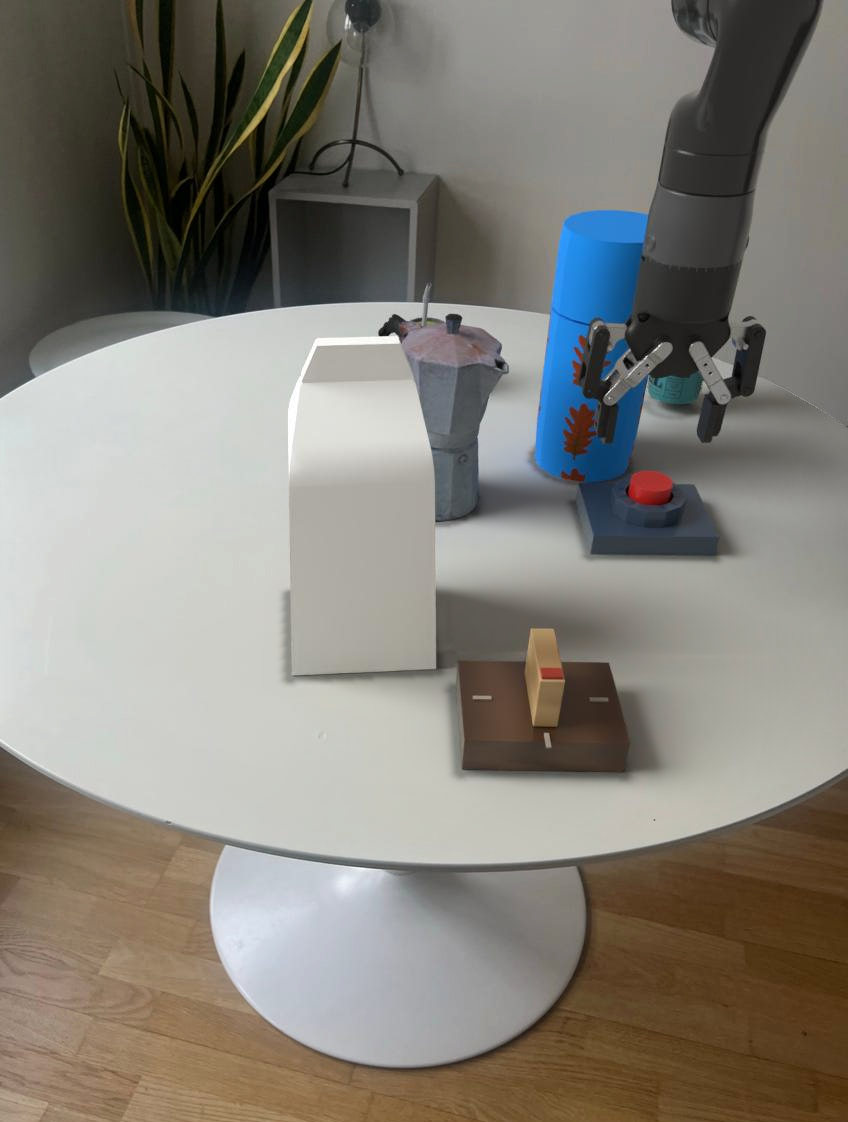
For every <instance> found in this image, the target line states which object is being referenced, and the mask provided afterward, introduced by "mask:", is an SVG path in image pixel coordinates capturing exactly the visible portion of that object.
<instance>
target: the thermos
mask: <svg viewBox="0 0 848 1122" xmlns="http://www.w3.org/2000/svg"><path fill="white" fill-rule="evenodd" d="M648 214H649V213H648ZM648 214H647V213H644V212H643V213H642V212H639V211H638V212H637V211H629V210H619V209H601V210H600V209H595V210H588V211H581V212H577V213H574V214H571V215H569V216H568V217H567V218H565V219H564V220H563V225H562V228H561V232H560V236H559V241H558V250H557V255H556V257H557V258H556V265H555V273H554V281H553V282H554V283H553V289H552V297H551V306H550V313H549V322H548V329H547V337H546V346H545V354H544V361H543V370H542V378H541V385H540V393H539V400H538V401H539V402H538V410H537V417H536V430H535V444H534V445H535V446H534V460H535V462H536V463H537V465H538V466H539V467H540V469H542V470H543V471H545V472H547V473H549V474H550V475H552V476H555V477H558V478H561V479H563V480H568V481H572V482H578V483H602V482H605V481H609V480H614V479H616V478H618V477H619V476H622V475H624V474H625V473H626V471H627V469H628V468H629V466H630V463H631V459H632V455H633V450H634V447H635V443H636V439H637V436H638V430H639V425H640V421H641V415H642V412H643V411H642V410H643V406H644V401H645V396H646V391H647V386H648V382H649V379H648V376H649V375H647V376H646V377H645V378H644V379H643V380H642V381H641V382H640V383H639V384H638V385H637V386H636V387H634V388H630V389H629V390H628V391H627V392H626V393H625V394H624V395H623V396H622V397H621V398H620V399H619V400H618V401H617V403H618V405H619V410H618V416H617V421H616V427H615V433H614V439H613V443H612V444H603V442H602V440H601V438H598V435H597V433H596V431H595V427H594V422H595V415H596V409H597V403H598V400H597V399H594V398H592V399H587V398H585V397H584V395H583V393H582V389H581V387H580V386H579V384H578V377H579V372H580V367H581V362H582V358H583V353H584V348H585V343H586V338H587V334H588V329H589V324H590V322H591V320H593V319H594V318H601V319H602V320H603V321H604V322H605V323H619V324H625V322H626V321H627V320H628V318H629V316H630V314H631V312H632V307H633V300H634V294H635V289H636V283H637V277H638V271H639V265H640V259H641V254H642V248H643V242H644V236H645V230H646V225H647V219H648ZM628 349H629V347H628V345H627V343H626V341H625V340H624V339H621V340H619V341H618V342H617V343H616V345H615V347H614V349H613V350H611V351H609V352H607V353H606V357H605V362H604V366H603V371H602V375H601V380H603V379H604V378H605V377H606V376H607V375H608V374H609V373H610V372H611V370H612V369H613V368H614V367H615V363H616V362H617V360H618V359H619V358H620V357H621V356H622V355H623V354H624V353H625V352H626V351H627V350H628Z"/></svg>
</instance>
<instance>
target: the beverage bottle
mask: <svg viewBox="0 0 848 1122" xmlns="http://www.w3.org/2000/svg"><path fill="white" fill-rule="evenodd" d="M704 383H705V382H704V380H703V378H702V376H701V375H700V373H699V372H696V373H694V374H692V375H690V378H679V377H675V376H668V377H664V378H652V377H651V376H650V375H649V376H648V383H647V386H646V388H647V392H648V395H649V396H650V397H651V398H653V399H655V400H656V401H659V402H661V403H662V402H663V403H666V404H671V405H687V404H691V403H693V402H695V401H696V400H698V398H699V396H700V395H701V394H702V392H701V391H702V390H703V387H704Z"/></svg>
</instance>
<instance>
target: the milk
mask: <svg viewBox="0 0 848 1122" xmlns="http://www.w3.org/2000/svg"><path fill="white" fill-rule="evenodd" d="M300 374H301V375H299V377H298V379H297V382H296V384H295V386H294V389H293V391H292V394H291V397H290V400H289V403H288V411H287V438H288V439H287V441H288V444H287V445H288V446H287V449H288V450H287V451H288V512H289V513H288V516H289V521H288V522H289V523H288V524H289V526H288V527H289V573H290V574H289V581H290V583H289V584H290V585H289V586H290V587H289V589H290V591H289V592H290V595H289V596H290V650H291V652H290V656H291V658H290V659H291V663H290V664H291V676H293V677H294V676H310V675H311V676H312V675H313V676H314V675H329V674H330V675H335V674H353V673H354V674H356V673H375V672H376V673H378V672H400V671H421V670H423V671H424V670H436V669H437V610H436V609H437V607H436V606H437V605H436V603H437V601H436V600H437V598H436V595H437V594H436V593H437V592H436V590H437V588H436V520H435V474H434V464H433V458H432V452H431V448H430V443H429V439H428V434H427V430H426V426H425V422H424V417H423V413H422V409H421V405H420V400H419V396H418V392H417V388H416V383H415V380H414V376H413V373H412V369H411V366H410V364H409V362H408V359H407V357H406V354H405V352H404V349H403V347H402V344H401V342H400V339H399V337H398V335H389V336H380V337H379V336H348V337H347V336H346V337H343V336H342V337H318V338H315V340H314V342H313V344H312V347H311V349H310V351H309V354H308V356H307V359H306V360H305V363H304V365H303V368H302V369H301V373H300Z"/></svg>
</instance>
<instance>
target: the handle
mask: <svg viewBox="0 0 848 1122" xmlns="http://www.w3.org/2000/svg"><path fill="white" fill-rule="evenodd" d="M529 631H530V632H529V639H528V644H527V645H528V646H527V652H526V659H525V661H526V666H525V679H526V685H527V691H528V698H529V704H530V710H531V717H532V723H533V726H541V727H557V725H558V719H559V714H560V708H561V702H562V697H563V691H564V685H565V678H564V674H563V669H562V664H561V662H562V660H561V659H562V658H561V655H560V649H559V645H558V640H557V636H556V631H555V629H554V628H537V627H536V628H533V627H532V628H530V630H529Z"/></svg>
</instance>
